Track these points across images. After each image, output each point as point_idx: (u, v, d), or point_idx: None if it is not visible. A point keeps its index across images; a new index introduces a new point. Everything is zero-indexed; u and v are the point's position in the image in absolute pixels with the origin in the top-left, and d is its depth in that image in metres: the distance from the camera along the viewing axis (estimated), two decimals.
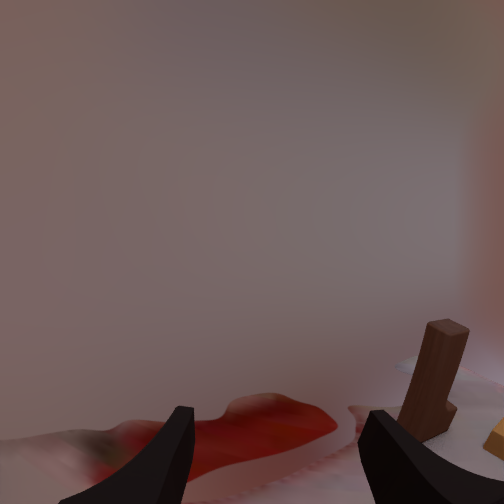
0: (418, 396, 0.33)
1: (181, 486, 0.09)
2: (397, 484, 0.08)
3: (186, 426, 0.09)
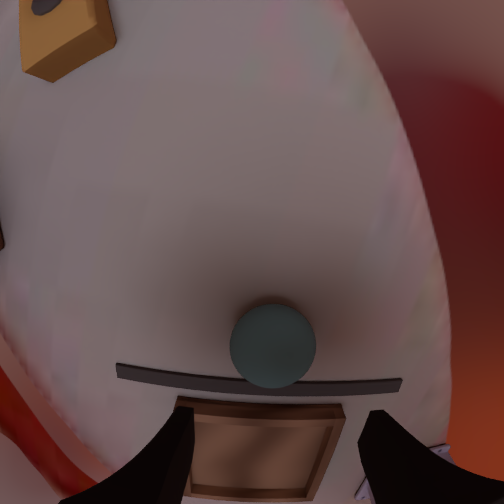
0: None
1: (181, 486, 0.09)
2: (397, 484, 0.08)
3: (186, 426, 0.09)
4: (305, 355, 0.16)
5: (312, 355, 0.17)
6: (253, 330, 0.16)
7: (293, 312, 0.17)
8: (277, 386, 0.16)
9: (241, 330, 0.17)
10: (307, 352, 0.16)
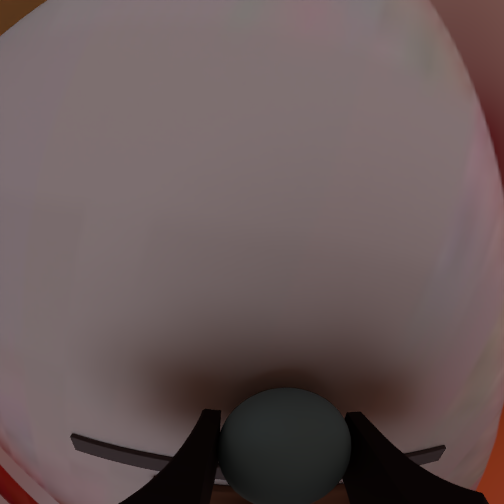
0: None
1: (210, 490, 0.09)
2: (370, 489, 0.08)
3: (216, 429, 0.09)
4: (337, 474, 0.08)
5: (346, 467, 0.09)
6: (255, 446, 0.08)
7: (320, 409, 0.09)
8: None
9: (234, 440, 0.09)
10: (341, 470, 0.08)
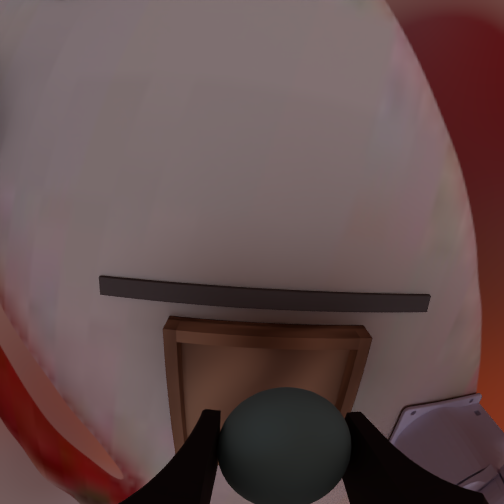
0: None
1: (210, 490, 0.09)
2: (370, 489, 0.08)
3: (216, 429, 0.09)
4: (337, 474, 0.08)
5: (346, 467, 0.09)
6: (254, 446, 0.08)
7: (320, 408, 0.09)
8: None
9: (233, 439, 0.09)
10: (341, 469, 0.08)
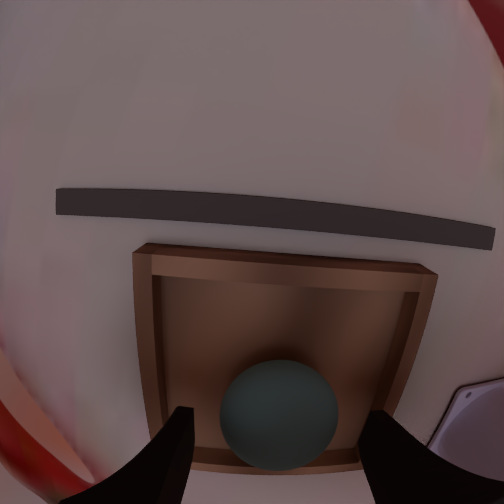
0: None
1: (181, 486, 0.09)
2: (397, 484, 0.08)
3: (186, 426, 0.09)
4: (324, 436, 0.10)
5: (333, 432, 0.11)
6: (251, 406, 0.10)
7: (309, 376, 0.11)
8: (283, 470, 0.10)
9: (234, 401, 0.11)
10: (327, 432, 0.10)
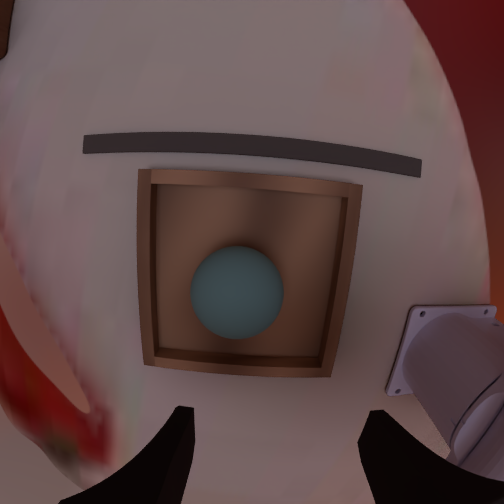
0: None
1: (181, 486, 0.09)
2: (397, 484, 0.08)
3: (186, 426, 0.09)
4: (263, 297, 0.15)
5: (275, 301, 0.15)
6: (209, 266, 0.15)
7: (256, 252, 0.16)
8: (235, 334, 0.15)
9: (199, 268, 0.16)
10: (267, 295, 0.15)
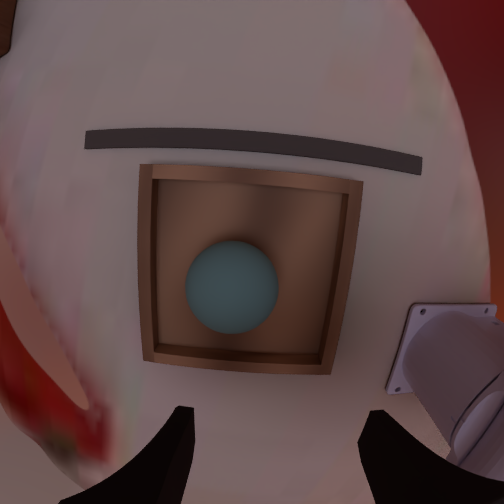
0: None
1: (181, 486, 0.09)
2: (397, 484, 0.08)
3: (186, 426, 0.09)
4: (252, 291, 0.15)
5: (266, 297, 0.15)
6: (201, 259, 0.16)
7: (250, 247, 0.16)
8: (224, 328, 0.15)
9: (193, 261, 0.16)
10: (257, 290, 0.15)
